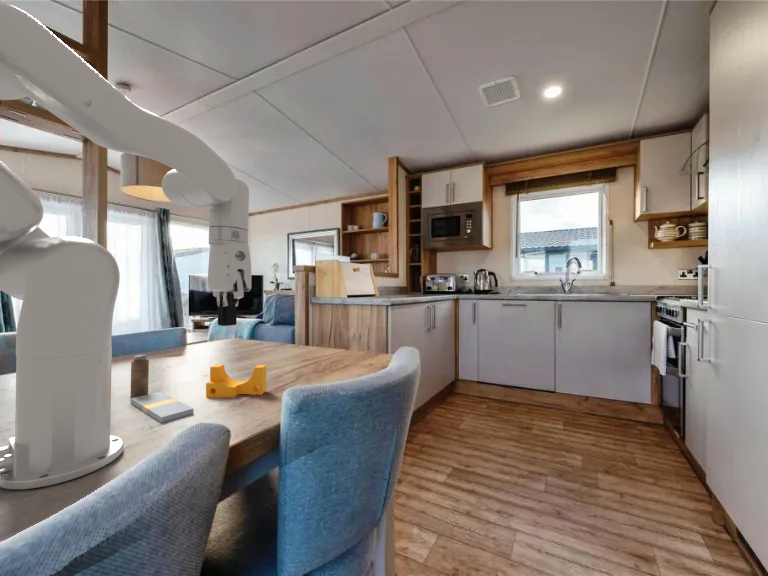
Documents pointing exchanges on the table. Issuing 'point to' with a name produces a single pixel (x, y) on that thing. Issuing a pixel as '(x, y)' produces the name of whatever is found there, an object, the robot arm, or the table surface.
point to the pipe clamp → (235, 383)
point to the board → (162, 406)
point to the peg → (139, 376)
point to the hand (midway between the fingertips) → (227, 325)
